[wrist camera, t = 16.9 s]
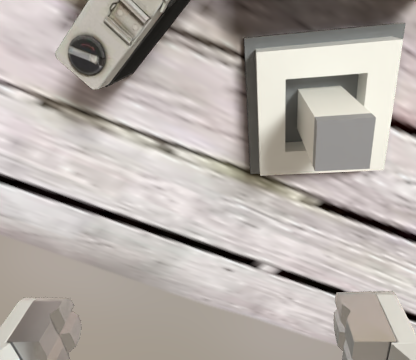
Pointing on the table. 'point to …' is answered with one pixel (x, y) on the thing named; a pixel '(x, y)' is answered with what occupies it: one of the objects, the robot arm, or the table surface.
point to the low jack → (312, 78)
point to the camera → (115, 37)
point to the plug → (335, 129)
